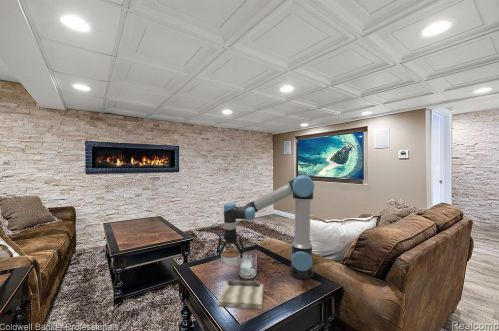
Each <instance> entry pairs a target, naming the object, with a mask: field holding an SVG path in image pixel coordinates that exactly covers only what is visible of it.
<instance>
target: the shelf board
mask: <svg viewBox="0 0 499 331" xmlns="http://www.w3.org/2000/svg"><path fill="white" fill-rule="evenodd" d="M263 299H264V284H262V283H260V281H255V280H253V281H252V280H235V279H228V281H227V282H224V285H223V288H222V290H221V293H220V296H219V298H218V300H217V307H222V308H223V307H224V308H235V309H237V308H238V309H252V310H253V309H254V310H262V309H263Z"/></svg>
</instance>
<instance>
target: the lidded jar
mask: <svg viewBox="0 0 499 331" xmlns="http://www.w3.org/2000/svg"><path fill="white" fill-rule="evenodd" d="M222 252H223V253H222V255H223V263H224V265H225V266H226V267H228V268H234V267H236V265H238V264H239V250H238V249H231V248H230V249H227V250H223V251H222Z"/></svg>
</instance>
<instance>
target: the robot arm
mask: <svg viewBox="0 0 499 331" xmlns="http://www.w3.org/2000/svg"><path fill="white" fill-rule="evenodd" d="M314 189H315V184H314V180H313V178H311V177H310V176H309V175H307V174H299V175H296V177H294V178H292V179H291V180H290V181H288V182H287V184H284V185H283V186H281V187H279V188H277V189H274V190H273V191H271V192H269V193H267V194H264V195H263V196H261V197H258V198H256V199H255V200H252V201H250V202H247V203H246V204H245V205H244V206H237V204H236V203H234V202H229V203H225V204H224V205H223V232H224V234H223V235H220V236H219V242H218V245H217V248H216V253H219V254H218V256H219V258H220V263H221V265H223V263H224V261H223V255H222V253H223V252H224V249H225V247H226V245H227V244H232V245H234V246H235V247H236V250H238V251H239V261H238V264H239V265H241V263H242V259H243V253H245V252H246V249H245V248H246V247H245V245H244V243H243V239H242V236H241V235H239V236H238V235H237V220H247V221H249V220H254V219H255V217H256V213H258V212H259V211H261V210H264V209H265V208H267V207H270V206H272V205H274V204H276V203H279V202H280V201H282V200H285V199H287V198H288V197H291V196H292V199H293V200H294V206H295V207H294V237H293V238H292V240H291V258H290V262H291V263H290V267H289V275H290V277H292V278H294V279H297V280H300V279H308V280H310V279H309V278H311V277H312V276H313V274H314V269H313V244H312V242H311V239H310V237H311V236H310V235H311V234H310V233H311V202H312V201H313V200H314ZM223 240H224V241H225V242H224V243H223ZM237 240H238V241H237ZM238 242H239V244H238ZM222 243H223V245H222ZM221 245H222V246H221ZM314 275H315V274H314ZM313 277H314V276H313ZM311 279H312V278H311Z"/></svg>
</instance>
